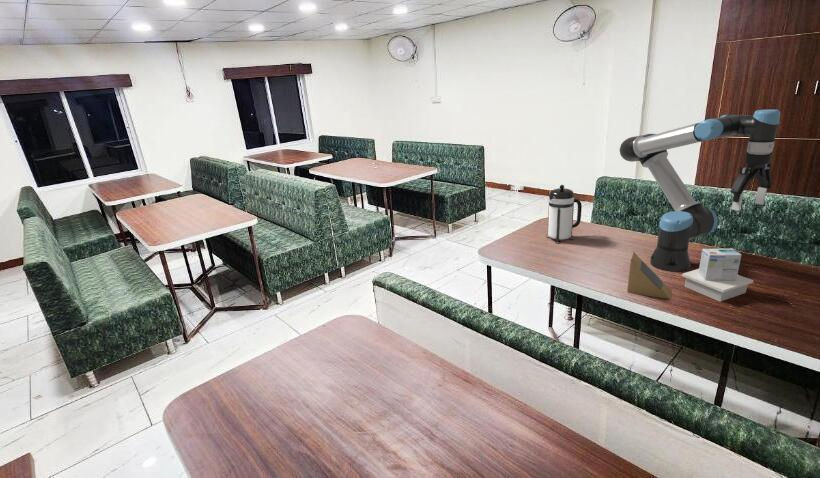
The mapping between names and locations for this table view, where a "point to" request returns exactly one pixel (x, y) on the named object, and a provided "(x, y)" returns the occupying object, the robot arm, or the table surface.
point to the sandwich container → (645, 280)
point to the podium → (716, 286)
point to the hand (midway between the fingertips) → (747, 206)
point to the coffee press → (562, 213)
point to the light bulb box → (719, 264)
